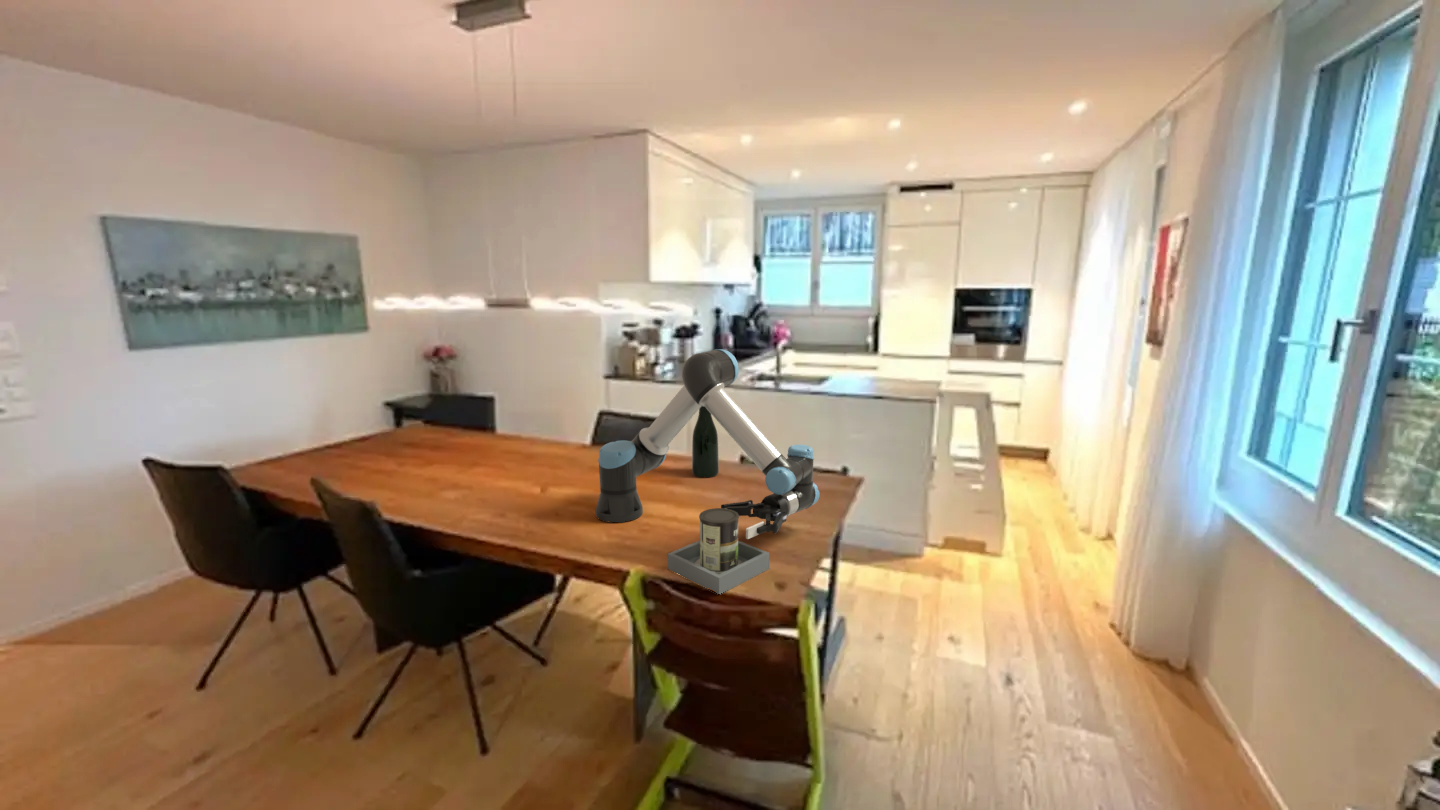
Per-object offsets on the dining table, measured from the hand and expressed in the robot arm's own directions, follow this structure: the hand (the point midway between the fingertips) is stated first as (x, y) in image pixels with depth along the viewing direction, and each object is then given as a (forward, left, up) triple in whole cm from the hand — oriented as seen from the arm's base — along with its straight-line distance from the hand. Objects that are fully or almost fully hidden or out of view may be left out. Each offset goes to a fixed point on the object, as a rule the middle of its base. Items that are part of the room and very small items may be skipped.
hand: (727, 526), depth 159 cm
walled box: (-3, -1, -11) cm, 12 cm away
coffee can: (-3, -1, -10) cm, 11 cm away
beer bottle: (+15, +77, -11) cm, 80 cm away
